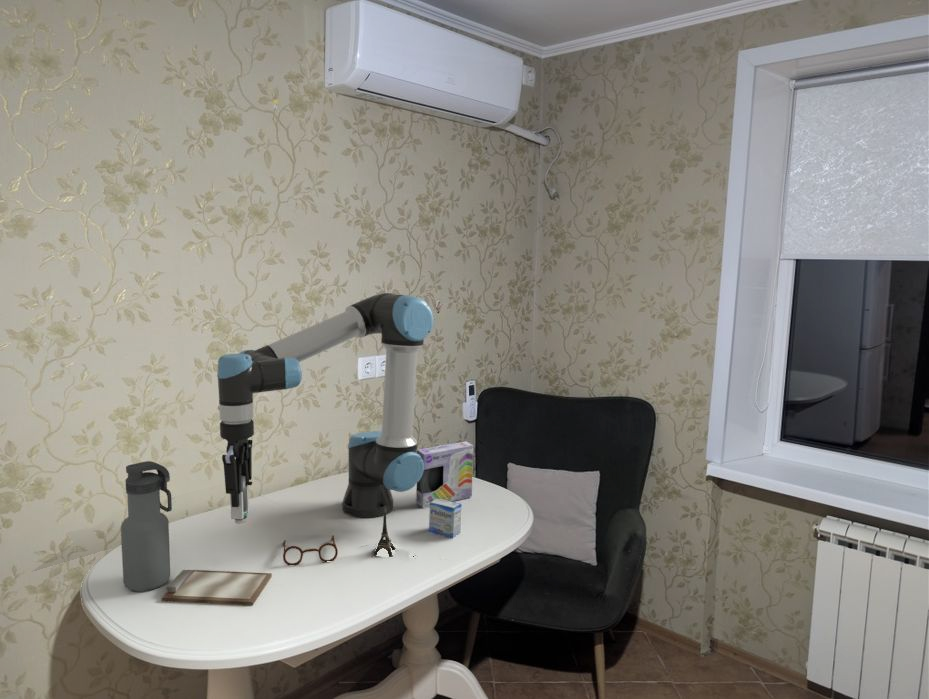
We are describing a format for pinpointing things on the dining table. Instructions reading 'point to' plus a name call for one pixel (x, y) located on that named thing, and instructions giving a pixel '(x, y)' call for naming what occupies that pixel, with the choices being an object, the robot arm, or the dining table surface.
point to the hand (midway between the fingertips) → (240, 515)
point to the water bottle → (146, 528)
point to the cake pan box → (445, 473)
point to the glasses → (310, 551)
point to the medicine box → (445, 518)
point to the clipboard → (216, 587)
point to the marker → (243, 489)
